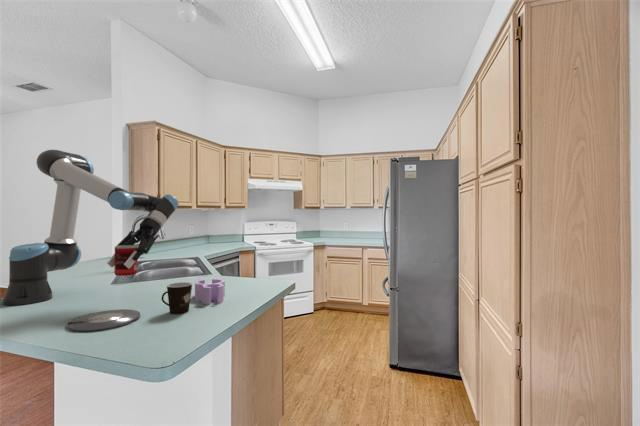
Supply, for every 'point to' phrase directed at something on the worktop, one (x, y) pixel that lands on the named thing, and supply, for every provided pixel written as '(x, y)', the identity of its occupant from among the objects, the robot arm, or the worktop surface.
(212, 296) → the clip
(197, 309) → the worktop surface
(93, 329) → the plate
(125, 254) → the canned food
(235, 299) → the worktop surface
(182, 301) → the coffee mug
